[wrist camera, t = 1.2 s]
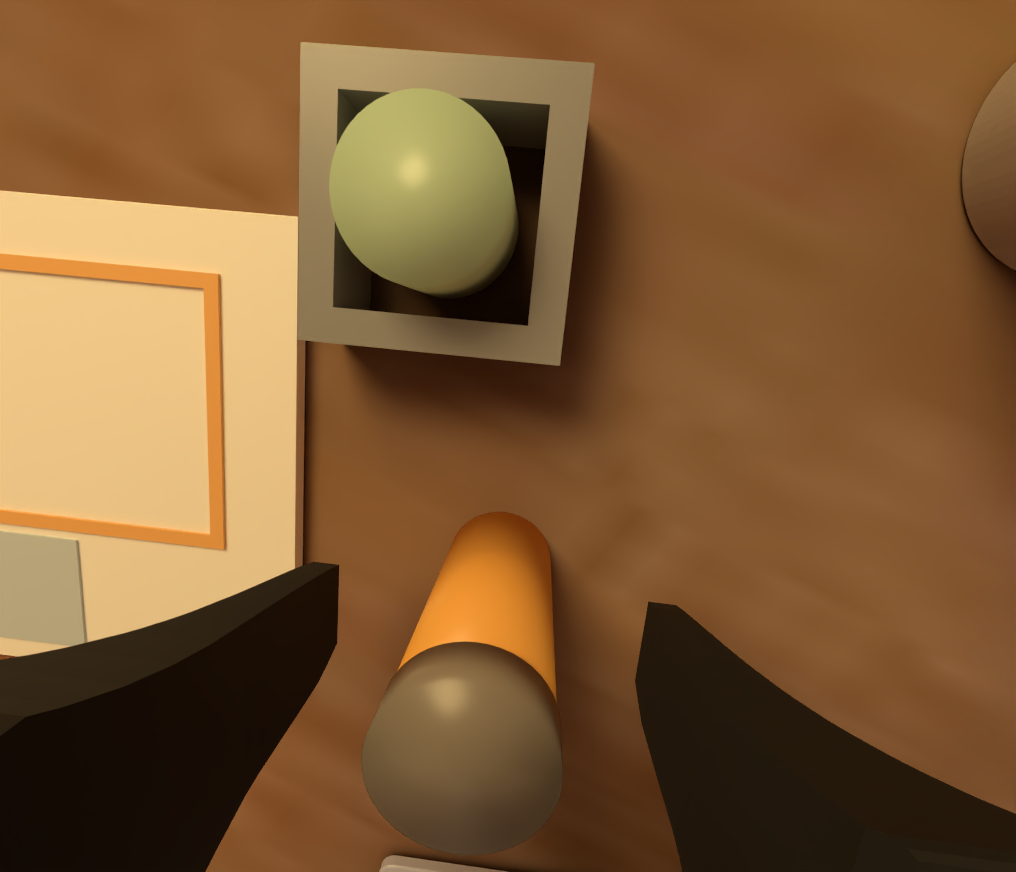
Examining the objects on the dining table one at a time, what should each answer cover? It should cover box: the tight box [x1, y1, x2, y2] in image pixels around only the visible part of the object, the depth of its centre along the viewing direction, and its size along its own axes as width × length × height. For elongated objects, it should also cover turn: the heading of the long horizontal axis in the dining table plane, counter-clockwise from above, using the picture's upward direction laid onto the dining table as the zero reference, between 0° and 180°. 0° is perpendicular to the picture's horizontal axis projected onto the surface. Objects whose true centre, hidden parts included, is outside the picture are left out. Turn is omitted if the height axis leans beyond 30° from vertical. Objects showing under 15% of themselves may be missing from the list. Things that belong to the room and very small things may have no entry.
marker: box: [361, 512, 563, 855], centre depth 11 cm, size 3×3×7 cm
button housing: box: [298, 42, 595, 366], centre depth 12 cm, size 6×6×2 cm
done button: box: [329, 88, 519, 298], centre depth 11 cm, size 3×3×3 cm
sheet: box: [0, 191, 305, 657], centre depth 15 cm, size 14×12×1 cm
